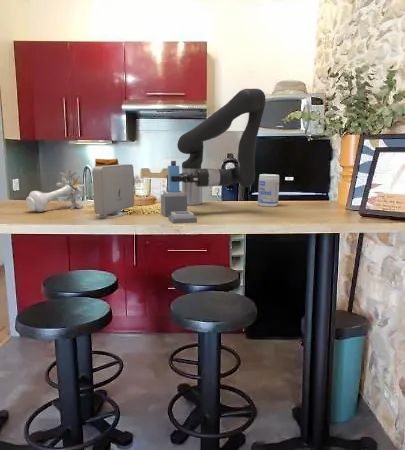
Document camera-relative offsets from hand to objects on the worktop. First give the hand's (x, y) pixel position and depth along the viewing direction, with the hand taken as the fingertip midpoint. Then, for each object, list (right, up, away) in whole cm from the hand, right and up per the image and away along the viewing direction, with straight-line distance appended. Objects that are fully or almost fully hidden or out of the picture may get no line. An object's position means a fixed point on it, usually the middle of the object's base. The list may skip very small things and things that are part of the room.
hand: (168, 178), depth 174 cm
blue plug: (+2, -7, +2) cm, 7 cm away
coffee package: (-30, -10, +27) cm, 42 cm away
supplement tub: (+45, -10, +31) cm, 55 cm away
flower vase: (-50, -12, +15) cm, 54 cm away
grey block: (+2, -15, +3) cm, 15 cm away
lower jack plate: (+6, -17, -11) cm, 21 cm away
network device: (-22, -15, +4) cm, 27 cm away
